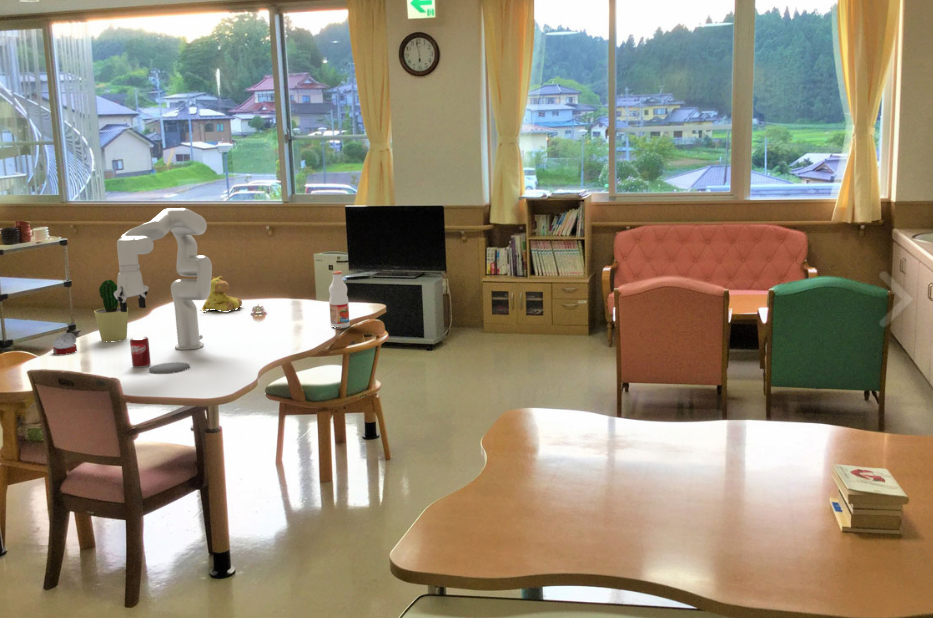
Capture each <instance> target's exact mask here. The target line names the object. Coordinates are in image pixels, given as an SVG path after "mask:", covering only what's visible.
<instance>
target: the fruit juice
mask: <svg viewBox="0 0 933 618" xmlns="http://www.w3.org/2000/svg"><path fill="white" fill-rule="evenodd" d="M331 274H332V281H331V284H330V285H329V286H328V293H329V300H328V301H329V318H330V319H329V321H330V322H329V323H330V327H331V326H334V327H337V326H338V327H341V328H340V329H346V328H349V327H350V323H351V322H350V310H349V309H350V308H349V297H348V295H347V294H348V286H347V284H346V283H345V282H344V279H343V271H342V270H336V271H335V270H334V271H332V273H331Z"/></svg>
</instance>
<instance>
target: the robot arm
mask: <svg viewBox="0 0 933 618" xmlns="http://www.w3.org/2000/svg"><path fill="white" fill-rule="evenodd" d="M207 227H208V225H207V221H206V219H205V218H204V217H203V216H202V215H200V214H198V213H196V212H195V211H193V210H191V209H188V208H185V207H180V208H176V207H175V208H173V207H172V208H171V207H169V208H164V209H163V210H162V211H160V212H159V213H157V214H156V216H154V217H153V218H152V219H151V220H150V221H148V222H145V223H142V224H140V225H138V226H135V227H132V228H130V229H129V230H127V231H126V232H124V233H123V234H122V235H121V236H120V237H119V239H118V240H117V241H116V249H117V257H118V258H117V259H118V268H119V269H118V270H119V272H118V273H117V279H116V281H117V282H116V285H117V289H118V290H116V291H115V292H114V296H115V297H116V300H118V303H119V307H120V310H121V312H127V308H128V305H127V301H126V300H127V299H128V298H131V297H135V296H138V300H137V301H138V308H140V309H146V307H147V306H146V298H147V295H148V291H149V289H150V288H149V286H148V285H145V284H144V280H143V276H142V272H141V270H140V268H141V265H140V264H139V255H147V254H150V253H151V252H152V251H153V250H154V247H155V244H154V241H156V240H159V239H162V238H164V237H165V236H166V235H167V234H168V233H169V232H171V233H172V234H173V237H174V238H175V240H176V243H177V256H176V266H175V267H176V269H175V270H176V273H177V274H178V275H179V276H181V277H196V278H180V279H179V278H178V279H176V280H174V281H173V282H172V283H171V285H170V293H171V298H172V301H173V304H174V305H173V306H174V314H175V324H176V334H177V335H176V336H177V344H175V345H174V349H175V350H177V351H179V350H180V351H190V349H191V350H197V349H200V348H203V347H204V343H203V342H202V341H200V340H202V339H203V335H202V334H200V332H199V331H200V329H199V319H198V307H197V306H196V304H195V303H194V301H205V300H207V299H208V297H209V294H210V288H211V278H212V277H213V276H212V275H213V274H212V273H213V264H212V261H211V258H209V257H208V256H207V255H198V244H197V241H196V240H195V238H194V237H193V236H200V235H203V234H204V233H205V232H206V230H207Z"/></svg>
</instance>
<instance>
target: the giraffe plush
mask: <svg viewBox="0 0 933 618" xmlns="http://www.w3.org/2000/svg"><path fill="white" fill-rule="evenodd" d="M223 279H224V277H223V276H222V275H220V276H218V277H215V276H214V275H213V276H212V277H211V288H210V294H209V297H208V298H207V299H205V300H206V301H205V302H204V304H203V305H202V307H201V311H202V310H203V311H206V310H207V309H209V310H210V309H215V310H221V311H229V310H232V309H236V308H239V307H240V306H241V307H242V306H243V301H242V299H241V298H238V297H232V296H228V295H227V294H226V292H227V291H229V290H230V285H229V283H228V282H227V281H226V280H223ZM241 307H240V308H241ZM240 308H239V309H240ZM203 311H202V312H203ZM232 311H233V310H232Z"/></svg>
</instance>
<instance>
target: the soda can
mask: <svg viewBox="0 0 933 618" xmlns="http://www.w3.org/2000/svg"><path fill="white" fill-rule="evenodd" d="M129 344H130V355H131V364H132V367H133V368H136V367H141V368H146V367H145V366H147V367H149V366H151V362H152V361H151V352H150V342H149V338H148V337H147V336H144V335H143V336H140V335H139V336H134V337H132V338H130V339H129ZM148 365H149V366H148Z"/></svg>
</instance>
